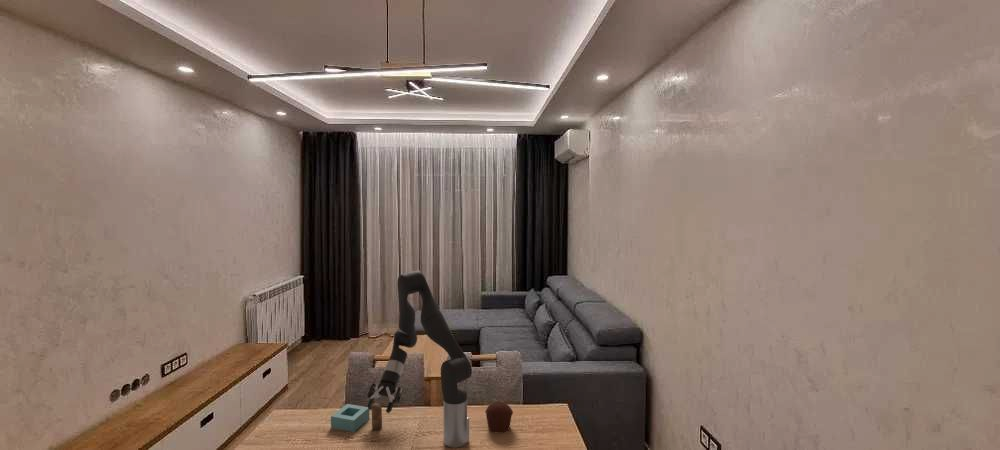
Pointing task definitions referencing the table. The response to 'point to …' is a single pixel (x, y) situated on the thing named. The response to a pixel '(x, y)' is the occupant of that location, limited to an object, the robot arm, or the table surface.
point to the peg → (376, 416)
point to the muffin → (498, 416)
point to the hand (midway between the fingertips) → (378, 410)
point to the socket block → (350, 417)
